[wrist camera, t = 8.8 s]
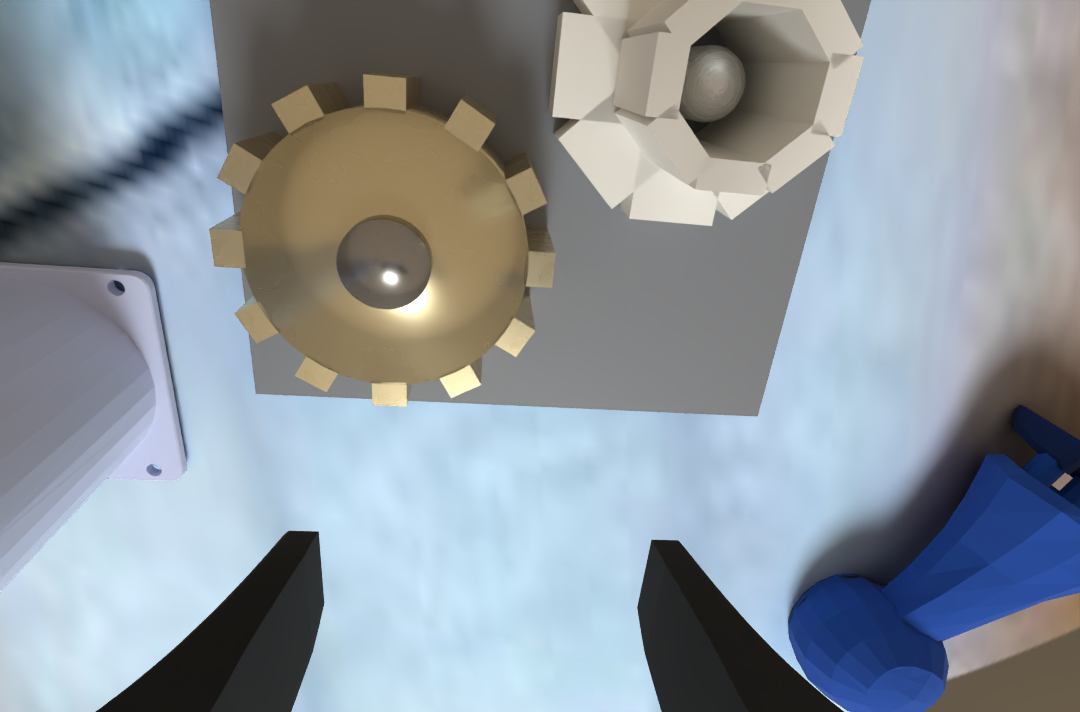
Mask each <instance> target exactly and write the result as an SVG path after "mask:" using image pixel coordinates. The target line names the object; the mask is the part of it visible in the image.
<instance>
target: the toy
mask: <svg viewBox="0 0 1080 712" xmlns="http://www.w3.org/2000/svg"><path fill="white" fill-rule="evenodd" d="M1012 414H1013V422H1014V430H1015V431H1016V432H1017V433H1018V434H1019V435H1020V436H1021V437H1022V438H1023V439H1024V440H1025V441H1026V442H1027V443H1028V444H1029V446H1030V447H1031V448H1032V449H1033V450H1034V451H1035V452H1037V454H1036V455H1035V456H1034V457H1033V458H1032V459H1031V460H1030V461H1029V462H1028V463H1027V464H1026V465H1025V466H1024V467H1023V468H1020V467H1019V466H1018V465H1017V464H1016V463H1015V462H1013V461H1012V460H1011V459H1010V458H1009V457H1007V455H1006V454H987V456H986V457H985V459H984V461H983V463H982V465H981V467H980V469H979V471H978V472H977V474H976V476H975V478H974V480H973V482H972V484H971V486H970V487H969V489H968V491H967V493H966V495H965V496H964V498H963V499H962V501H961V502H960V504H959V505H958V507H957V508H956V510H955V511H954V513H953V514H952V516H951V517H950V519H949V520H948V522H947V523H946V525H945V526H944V528H943V529H942V530H941V531H940V532H939V534H938V535H937V536H936V537H935V538H934V539H933V540H932V541H931V542H930V543H929V544H928V546H927V547H926V548H925V549H924V550H923V551H922V552H921V553H920V554H919V555H918V556H917V558H916V559H915V560H914V561H913V562H912V563H911V564H910V565H909V566H908V567H907V568H906V569H904V570H903V571H902V572H901V573H900V574H899V575H898V576H897V577H895V578H894V579H893V580H892V581H891V582H890V583H889V584H888V585H887V586H883V585H881V584H879V583H877V582H874V581H872V580H869V579H867V578H864V577H862V576H859V575H857V574H846V575H835V576H832V577H829V578H827V579H824V580H822V581H819V582H818V583H816V584H815V585H814V586H812V587H811V588H810V589H808V590H807V591H806V592H804V593H803V595H802V596H801V597H800V599H799V600H798V602H797V603H796V604H795V606H794V608H793V610H792V613H791V615H790V618H789V620H788V627H789V639H790V642H791V644H792V647H793V650H794V653H795V656H796V659H797V661H798V662H799V664H800V666H801V668H802V669H803V671H804V673H805V675H806V677H807V678H808V680H809V681H810V682H811V683H813V684H814V685H815V686H816V687H817V688H818V689H819V690H820V691H821V692H822V693H823V694H824V695H825V696H827V697H828V698H830V699H831V700H832V701H834V702H835V703H837V704H838V705H840V706H841V707H843V708H844V709H846V710H847V711H850V712H924V711H925V710H927V709H928V708H929V707H930V706H932V705H933V704H934V703H935V702H936V701H937V700H938V699H939V698H940V697H941V695H942V693H943V691H944V689H945V684H946V679H947V673H948V668H949V665H948V660H947V655H946V651H945V648H944V645H943V642H942V641H944V640H946V639H949V638H951V637H954V636H956V635H959V634H962V633H964V632H967V631H969V630H972V629H974V628H977V627H979V626H982V625H984V624H987V623H989V622H992V621H995V620H997V619H1000V618H1002V617H1005V616H1007V615H1010V614H1013V613H1015V612H1018V611H1020V610H1023V609H1026V608H1028V607H1031V606H1033V605H1036V604H1038V603H1041V602H1044V601H1047V600H1051V599H1055V598H1059V597H1064V596H1068V595H1072V594H1076V593H1080V440H1078V439H1076V438H1075V437H1073V436H1072V435H1070V434H1068V433H1067V432H1065V431H1063V430H1062V429H1060V428H1059V427H1057V426H1055V425H1054V424H1052V423H1050V422H1049V421H1047V420H1045V419H1044V418H1042V417H1041V416H1039V415H1037V414H1036V413H1034V412H1032V411H1031V410H1029V409H1027V408H1026V407H1024V406H1022V405H1020V406H1019V407H1018V408H1017V409H1015V410H1014V411H1013V413H1012ZM1064 473H1067V474H1068V475H1069V474H1070V476H1071V477H1072V478H1073V479H1072V480H1071V481H1070V482H1069V483H1067V484H1066V485H1065V486H1064V487H1063V488H1062V489H1061V490H1060V491H1059V490H1057V489H1056V488H1055V487H1053V486H1052V484H1053V483H1054V482H1055V481H1056V480H1057V479H1058V478H1060V477H1061V476H1062V475H1063V474H1064Z"/></svg>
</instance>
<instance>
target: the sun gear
mask: <svg viewBox="0 0 1080 712" xmlns="http://www.w3.org/2000/svg"><path fill="white" fill-rule="evenodd" d="M363 86H364V104H361V105H357V106H353V107H350V106H349V104H348V102H347V100H346V98H345V97H344V95H343V93H342V91H341V89H340V88H339V86H338V84H337V82H330V83H321V84H312V85H306V86H304V87H302V88H301V89H299V90H297V91H295V92H293V93H291V94H289V95H288V96H286V97H284V98H282V99H280V100H278V101H276V102H275V103H273V104H271V105H272V107H273V108H274V110H275V112H276V113H277V115H278V116H279V118H280V120H281V121H282V123H283V125H284V126H285V128H286V130H287V131H288V133H289V134H288V135H287V136H286V137H285V138H283V137H282V136H280V135H279V134H277V133H276V132H274V131H272V132H269V133H266V134H262V135H259V136H256V137H252V138H249V139H246V140H243V141H239V142H236V143H234V144H233V146H232V148H231V150H230V152H229V154H228V156H227V158H226V160H225V162H224V165H223V167H222V169H221V171H220V173H219V175H218V177H217V178H218V179H220V180H222V181H223V182H225V183H227V184H228V185H230V186H232V187H233V188H235V189H237V190H238V191H240V192H242V193H243V194H245V197H244V202H243V206H242V210H241V211H240V212H238V213H236V214H235V215H233V216H231V217H229V218H228V219H226V220H224V221H222V222H221V223H219V224H217V225H215V226H214V227H212V228H210V229H209V230H210V237H211V244H212V252H213V259H214V266H216V267H232V268H243V269H244V272H245V275H246V278H247V281H248V284H249V287H250V289H251V291H252V293H253V296H252V297H251V298H250V299H249V300H248V301H247V302H246V303H245V304H244V305H243V306H242V307H241V308H240V309H239V310H238V311H237V312H235V313H234V314H235V315H236V317H237V318H238V319H239V321H240V322H241V323H242V325H243V326H244V327H245V329H246V330H247V331H248V333H249V334H250V335H251V337H252V338H253V339H254V341H255V342H256V343H258V342H261V341H263V340H265V339H267V338H269V337H271V336H273V335H275V334H277V333H280V334H281V335H282V336H283V337H284V338H285V339H286V340H287V341H288V342H289V343H290V344H291V345H292V346H293V347H294V348H296V349H297V350H298V351H300V352H301V353H302V354H304V355H305V356H306V358H305V359H304V361H303V363H302V364H301V366H300V368H299V369H298V371H297V373H296V374H295V376H296V377H298V378H300V379H302V380H304V381H306V382H307V383H309V384H311V385H313V386H315V387H317V388H319V389H321V390H323V391H325V392H327V391H328V389H329V388H330V386H331V384H332V383H333V381H334V380H335V378H336V376H337V375H338V374H340V375H343V376H346V377H349V378H352V379H355V380H360V381H365V382H369V383H372V405H386V406H407V403H408V399H409V395H410V391H411V387H412V384H416V383H424V382H428V381H432V380H436V379H440V381H441V382H442V384H443V385H444V387H445V389H446V390H447V392H448V394H449V395H450V397H451V398H453V397H455V396H457V395H459V394H462V393H464V392H466V391H468V390H471V389H473V388H475V387H477V386H479V385H481V376H482V356H483V355H484V354H485V353H486V352H487V351H488V350H489V349H490V348H492V347H493V346H494V345H497V346H498V347H500V348H502V349H503V350H505V351H507V352H508V353H510V354H512V355H513V356H515V357H516V356H517V355H518V354H519V352H520V351H521V350H522V348H523V347H524V346H525V344H526V343H527V341H528V340H529V339H530V337H531V336H532V335H533V333H534V332H535V324H534V318H533V311H532V304H531V298H530V295H529V294H527V293H525V292H524V291H525V288H526V286H529V287H545V288H552V284H553V274H554V264H555V255H556V253H555V249H554V246H553V243H552V240H551V237H550V234H549V231H548V227H542V226H529V225H525V222H524V216H523V215H524V214H526V213H528V212H530V211H532V210H534V209H536V208H538V207H540V206H543V205H545V204H547V201H546V198H545V196H544V193H543V190H542V188H541V185H540V183H539V180H538V178H537V176H536V174H535V172H534V169H533V167H532V165H531V163H530V161H529V158H528V156H527V154H526V153H524V154H522V155H520V156H518V157H516V158H514V159H512V160H510V161H508V162H506V163H503V162H502V160H501V159H500V158H499V156H498V155H497V153H496V152H495V151H494V149H493V148H492V147H491V146H490V145H489V144H488V143H487V142H486V141H485V140H486V139H487V137H488V135H489V134H490V132H491V131H492V129H493V127H494V126H495V124H496V119H495V115H494V114H493V113H492V112H490V111H489V110H488V109H486V108H485V107H483V106H482V105H481V104H479V103H478V102H477V101H475V100H474V99H473V98H471V97H470V96H468V95H467V94H466V95H465V96H464V97H463V98H462V99H461V100H460V102H459V103H458V105H457V107H456V108H455V110H454V112H453V113H452V115H449V114H446V113H444V112H442V111H440V110H437V109H435V108H431V107H428V106H425V105H421V104H420V76H414V75H403V74H393V73H372V74H363Z"/></svg>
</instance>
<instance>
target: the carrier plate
mask: <svg viewBox="0 0 1080 712" xmlns="http://www.w3.org/2000/svg"><path fill="white" fill-rule="evenodd" d="M841 2H842V4H843V6H844V8H845V10H846V12H847V14H848V16H849V18H850V20H851V22H852V24H853V26H854V28H855V30H856V32H857V34H858V36H859V37H860V39H861V35H862V32H863V28H864V24H865V21H866V17H867V13H868V10H869V6H870V2H871V0H841ZM210 8H211V16H212V25H213V33H214V42H215V50H216V59H217V67H218V76H219V84H220V93H221V101H222V110H223V118H224V127H225V135H226V144H227V152H228V154H229V152H230V150H231V148H232V146H233V144H234V143H236V142H239V141H243V140H246V139H249V138H252V137H256V136H259V135H262V134H266V133H269V132H272V131H274V132H276V133H277V134H279V135H280V136H282V137H283V138H285V137H286V136H287V135H288V134H289V133H288V131H287V130H286V128H285V126H284V125H283V123H282V121H281V120H280V118H279V116H278V115H277V113H276V112H275V110H274V108H273V107H272V105H271V104H273V103H275V102H276V101H278V100H280V99H282V98H284V97H286V96H288V95H289V94H291V93H293V92H295V91H297V90H299V89H301V88H302V87H304V86H306V85H312V84H321V83H330V82H337V84H338V86H339V88H340V89H341V91H342V93H343V95H344V97H345V98H346V100H347V102H348V104H349V106H350V107H353V106H357V105H361V104H364V86H363V74H372V73H393V74H403V75H414V76H420V104H421V105H425V106H428V107H431V108H435V109H437V110H440V111H442V112H444V113H446V114H449V115H452V113H453V112H454V110H455V108H456V107H457V105H458V103H459V102H460V100H461V99H462V98H463V97H464V96H465V95H466V94H467V95H468V96H470V97H471V98H473V99H474V100H475V101H477V102H478V103H479V104H481V105H482V106H483V107H485V108H486V109H488V110H489V111H490V112H492V113H493V114H494V115H495V119H496V124H495V126H494V127H493V129H492V131H491V132H490V134H489V135H488V137H487V139H486V140H485V141H486V142H487V143H488V144H489V145H490V146H491V147H492V148H493V149H494V151H495V152H496V153H497V155H498V156H499V158H500V159H501V160H502V162H503V163H506V162H508V161H510V160H512V159H514V158H516V157H518V156H520V155H522V154H524V153H526V154H527V156H528V158H529V161H530V163H531V165H532V167H533V169H534V172H535V174H536V176H537V178H538V180H539V183H540V185H541V188H542V190H543V193H544V196H545V198H546V201H547V204H545V205H543V206H540V207H538V208H536V209H534V210H532V211H530V212H528V213H526V214H524V215H523V216H524V222H525V225H529V226H542V227H548V231H549V234H550V237H551V240H552V243H553V246H554V249H555V253H556V255H555V264H554V274H553V284H552V288H545V287H529V286H526V288H525V291H524V292H525V293H527V294H529V295H530V298H531V304H532V311H533V318H534V324H535V332H534V333H533V335H532V336H531V337H530V339H529V340H528V341H527V343H526V344H525V346H524V347H523V348H522V350H521V351H520V352H519V354H518V355H517V356H516V357H515V356H513V355H512V354H510V353H508V352H507V351H505V350H503V349H502V348H500V347H498V346H497V345H494V346H493V347H492V348H490V349H489V350H488V351H487V352H486V353H485V354H484V355H483V356H482V376H481V385H479V386H477V387H475V388H473V389H471V390H468V391H466V392H464V393H462V394H459V395H457V396H455V397H453V398H451V397H450V395H449V394H448V392H447V390H446V389H445V387H444V385H443V384H442V382H441V381H440V379H436V380H432V381H428V382H424V383H416V384H412V387H411V391H410V395H409V399H408V401H428V402H451V403H473V404H495V405H517V406H539V407H561V408H583V409H606V410H628V411H650V412H672V413H694V414H716V415H738V416H758V413H759V409H760V405H761V402H762V398H763V394H764V391H765V387H766V383H767V380H768V376H769V372H770V369H771V365H772V361H773V358H774V354H775V350H776V347H777V343H778V339H779V336H780V332H781V328H782V325H783V321H784V317H785V314H786V310H787V306H788V303H789V299H790V295H791V292H792V288H793V284H794V281H795V277H796V273H797V270H798V266H799V262H800V259H801V255H802V251H803V248H804V244H805V240H806V237H807V233H808V229H809V226H810V222H811V218H812V215H813V211H814V207H815V204H816V200H817V197H818V193H819V189H820V186H821V182H822V178H823V175H824V171H825V167H826V164H827V160H828V156H829V153H830V150H829V151H828V152H826V153H825V154H824V155H822V156H821V157H820V158H819V159H817V160H816V161H815V162H813V163H812V164H811V165H809V166H808V167H807V168H805V169H804V170H803V171H801V172H800V173H799V174H797V175H796V176H795V177H793V178H792V179H791V180H790V181H788V182H787V183H786V184H784V185H783V186H782V187H780V188H779V189H778V190H776V191H775V192H774V193H771V192H768V193H766V194H765V195H764V196H763V197H761V198H760V199H759V200H757V201H756V202H755V203H753V204H752V205H751V206H749V207H748V208H747V209H745V210H744V211H743V212H742V213H740V214H739V215H738V216H736V217H735V218H734V219H732V220H731V219H729V218H728V217H726V216H725V215H723V214H722V213H720V212H719V211H717V210H715V214H714V219H713V223H712V226H705V225H694V224H683V223H672V222H660V221H649V220H638V219H629V218H628V217H627V216H626V214H625V213H624V212H623V211H622V210H621V209H620V205H621V202H620V203H619V204H618V205H616V206H615V207H614V208H613V209H611V207H610V206H609V205H608V204H607V203H606V201H605V200H604V199H603V197H602V196H601V195H600V194H599V192H598V191H597V190H596V188H595V187H594V186H593V184H592V183H591V182H590V180H589V179H588V178H587V176H586V175H585V174H584V173H583V171H582V170H581V169H580V167H579V166H578V165H577V163H576V162H575V161H574V159H573V158H572V157H571V155H570V154H569V153H568V152H567V150H566V149H565V148H564V146H563V145H562V144H561V142H560V141H559V140H558V138H557V137H556V136H555V134H554V133H555V132H556V131H557V130H558V129H560V128H561V127H562V126H563V125H564V124H565V123H566V122H568V121H569V120H570V118H560V117H552V116H551V115H550V114H549V113H548V109H549V99H550V89H551V79H552V69H553V59H554V49H555V39H556V29H557V19H558V15H560V14H561V13H562V12H569V13H577V14H582V13H581V12H580V10H579V9H578V7H577V6H576V4H575V3H574V1H573V0H210ZM706 45H717V46H722V47H725V48H727V49H729V48H728V47H727V45H726V43H725V42H724V40H723V38H722V37H721V35H720V33H719V32H718V30H717V28H716V27H715V25H714V26H713V27H712V28H711V29H710V30H709V31H707V32H706V33H705V34H704V35H703V36H701V37H700V38H699V39H698V40H697V41H696V42H694V43H693V44H692V45H691V47H695V46H706ZM856 54H857V52H856V53H854V54H853V55H856ZM684 119H685V121H686V122H687V124H688V125H689V127H690V128H691V130H692V131H693V133H694V134H695V135H696V134H697V133H698V132H699V131H701V130H702V129H703V128H704V127H706V126H707V125H708V124H709V123H711V122H697V121H693V120H690V119H686V118H684ZM830 138H831V140H832V141H833V138H834V136H830ZM232 195H233V203H234V212H235V214H236V213H238V212H240V211H241V210H242V206H243V202H244V197H245V194H243V193H242V192H240V191H238V190H237V189H235V188H233V187H232ZM241 271H242V280H243V288H244V297H245V303H246V302H247V301H248V300H249V299H250V298H251V297H252V296H253V293H252V291H251V289H250V287H249V284H248V281H247V278H246V275H245V272H244V269H243V268H241ZM249 339H250V348H251V356H252V364H253V373H254V381H255V390H256V394H273V395H296V396H318V397H340V398H362V399H372V383H369V382H365V381H360V380H355V379H352V378H349V377H346V376H343V375H340V374H338V375H337V376H336V378H335V380H334V381H333V383H332V384H331V386H330V388H329V389H328V391H327V392H325V391H323V390H321V389H319V388H317V387H315V386H313V385H311V384H309V383H307V382H306V381H304V380H302V379H300V378H298V377H296V376H295V374H296V373H297V371H298V369H299V368H300V366H301V364H302V363H303V361H304V359H305V358H306V356H305V355H304V354H302V353H301V352H300V351H298V350H297V349H296V348H294V347H293V346H292V345H291V344H290V343H289V342H288V341H287V340H286V339H285V338H284V337H283V336H282V335H281V334H280V333H277V334H275V335H273V336H271V337H269V338H267V339H265V340H263V341H261V342H258V343H256V342H255V341H254V339H253V338H252V337H251V335H250V334H249Z"/></svg>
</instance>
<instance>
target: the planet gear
mask: <svg viewBox="0 0 1080 712" xmlns="http://www.w3.org/2000/svg"><path fill="white" fill-rule="evenodd" d="M573 1H574V3H575V4H576V6H577V7H578V9H579V10H580V12H581V13H582V14H577V13H569V12H562V13H561V14H560V15H558V19H557V29H556V39H555V49H554V59H553V69H552V79H551V89H550V99H549V109H548V113H549V114H550V115H551V116H552V117H560V118H570V120H569V121H568V122H566V123H565V124H564V125H563V126H562V127H561V128H560V129H558V130H557V131H556V132H555V133H554V134H555V136H556V137H557V138H558V140H559V141H560V142H561V144H562V145H563V146H564V148H565V149H566V150H567V152H568V153H569V154H570V155H571V157H572V158H573V159H574V161H575V162H576V163H577V165H578V166H579V167H580V169H581V170H582V171H583V173H584V174H585V175H586V176H587V178H588V179H589V180H590V182H591V183H592V184H593V186H594V187H595V188H596V190H597V191H598V192H599V194H600V195H601V196H602V197H603V199H604V200H605V201H606V203H607V204H608V205H609V206H610V207H611V209H613V208H614V207H615V206H616V205H618V204H619V203H620V202H621V205H620V209H621V210H622V211H623V212H624V213H625V214H626V216H627V217H628V218H629V219H638V220H649V221H660V222H672V223H683V224H694V225H705V226H712V223H713V219H714V214H715V210H717V211H719V212H720V213H722V214H723V215H725V216H726V217H728V218H729V219H731V220H732V219H734V218H735V217H736V216H738V215H739V214H740V213H742V212H743V211H744V210H745V209H747V208H748V207H749V206H751V205H752V204H753V203H755V202H756V201H757V200H759V199H760V198H761V197H763V196H764V195H765V194H766V193H768V192H771V193H774V192H775V191H776V190H778V189H779V188H780V187H782V186H783V185H784V184H786V183H787V182H788V181H790V180H791V179H792V178H793V177H795V176H796V175H797V174H799V173H800V172H801V171H803V170H804V169H805V168H807V167H808V166H809V165H811V164H812V163H813V162H815V161H816V160H817V159H819V158H820V157H821V156H822V155H824V154H825V153H826V152H828V151H829V150H830V149H832V148H833V147H834V146H835V145H834V143H833V141H832V140H831V138H830V136H834V137H841V136H842V132H843V129H844V125H845V122H846V118H847V115H848V112H849V108H850V105H851V101H852V98H853V94H854V91H855V87H856V84H857V80H858V77H859V74H860V70H861V67H862V63H863V60H864V56H856V55H853V54H854V53H856V52H857V51H858V50H859V49H861V48H862V47H863V46H864V45H863V43H862V41H861V39H860V37H859V36H858V34H857V32H856V30H855V28H854V26H853V24H852V22H851V20H850V18H849V16H848V14H847V12H846V10H845V8H844V6H843V4H842V2H841V0H573ZM714 25H715V27H716V28H717V30H718V32H719V33H720V35H721V37H722V38H723V40H724V42H725V43H726V45H727V47H728V48H729V50H730V51H732V52H733V53H734V54H735V55H736V56H737V57H738V58H739V60H740V61H741V63H742V65H743V68H744V72H745V88H744V92H743V95H742V97H741V99H740V101H739V103H738V104H737V106H736V107H735V108H734V109H733V110H732V111H731V112H730V113H729V114H728V115H726V116H725V117H723V118H721V119H719V120H716V121H713V122H711V123H709V124H708V125H707V126H706V127H704V128H703V129H702V130H701V131H699V132H698V133H697V134H696V135H695V134H694V133H693V131H692V130H691V128H690V127H689V125H688V124H687V122H686V121H685V119H684V118H683V116H682V115H681V113H680V112H679V107H680V102H681V96H682V91H683V85H684V80H685V74H686V69H687V64H688V58H689V53H690V47H691V45H692V44H693V43H694V42H696V41H697V40H698V39H699V38H700V37H701V36H703V35H704V34H705V33H706V32H707V31H709V30H710V29H711V28H712V27H713V26H714Z"/></svg>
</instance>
